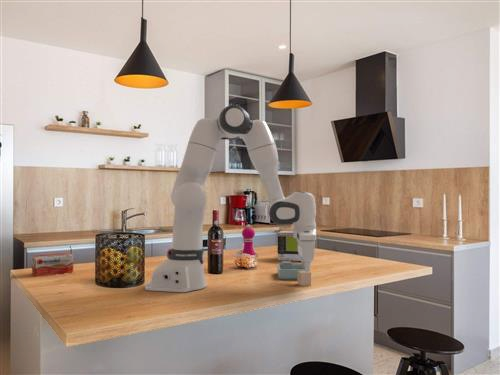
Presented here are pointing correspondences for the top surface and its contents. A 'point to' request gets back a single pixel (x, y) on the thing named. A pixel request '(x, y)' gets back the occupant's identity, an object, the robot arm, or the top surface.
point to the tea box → (287, 246)
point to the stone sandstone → (304, 278)
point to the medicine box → (52, 264)
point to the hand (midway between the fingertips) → (305, 269)
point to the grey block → (286, 265)
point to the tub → (289, 272)
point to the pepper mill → (248, 240)
